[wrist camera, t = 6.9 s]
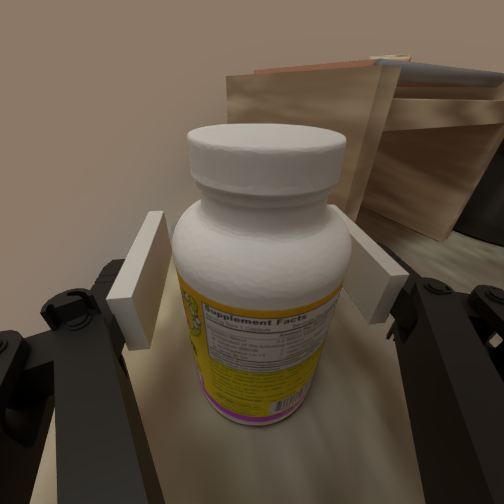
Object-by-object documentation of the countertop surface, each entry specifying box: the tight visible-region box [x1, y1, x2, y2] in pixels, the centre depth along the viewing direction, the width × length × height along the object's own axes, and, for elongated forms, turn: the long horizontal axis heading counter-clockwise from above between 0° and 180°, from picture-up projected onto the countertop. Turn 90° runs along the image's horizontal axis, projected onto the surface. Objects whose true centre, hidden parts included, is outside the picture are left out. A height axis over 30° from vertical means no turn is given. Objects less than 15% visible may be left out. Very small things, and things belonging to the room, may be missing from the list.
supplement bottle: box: [172, 124, 352, 425], centre depth 11 cm, size 7×7×13 cm
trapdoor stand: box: [226, 65, 504, 242], centre depth 27 cm, size 19×20×15 cm
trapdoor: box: [254, 58, 504, 88], centre depth 22 cm, size 15×16×1 cm
